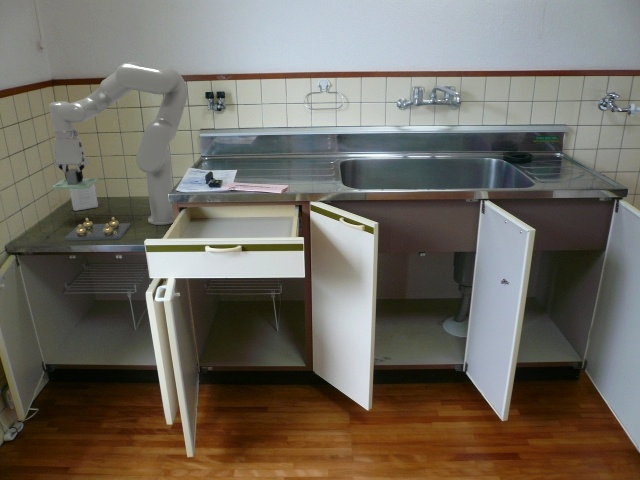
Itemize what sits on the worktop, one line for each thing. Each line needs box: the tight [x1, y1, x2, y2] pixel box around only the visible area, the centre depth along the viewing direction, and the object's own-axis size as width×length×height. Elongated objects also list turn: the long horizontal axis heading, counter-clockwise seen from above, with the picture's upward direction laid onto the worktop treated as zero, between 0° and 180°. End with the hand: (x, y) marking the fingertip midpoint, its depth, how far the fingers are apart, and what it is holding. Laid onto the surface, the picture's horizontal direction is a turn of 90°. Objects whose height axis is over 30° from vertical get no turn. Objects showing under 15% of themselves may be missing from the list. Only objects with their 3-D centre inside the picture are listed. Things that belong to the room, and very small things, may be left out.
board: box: [51, 167, 99, 191], centre depth 210 cm, size 14×11×6 cm
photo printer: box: [69, 184, 99, 212], centre depth 229 cm, size 10×4×12 cm, turn 123°
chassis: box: [64, 216, 131, 242], centre depth 203 cm, size 20×14×5 cm
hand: (75, 180), depth 210 cm, fingers closed on board, 3 cm apart
